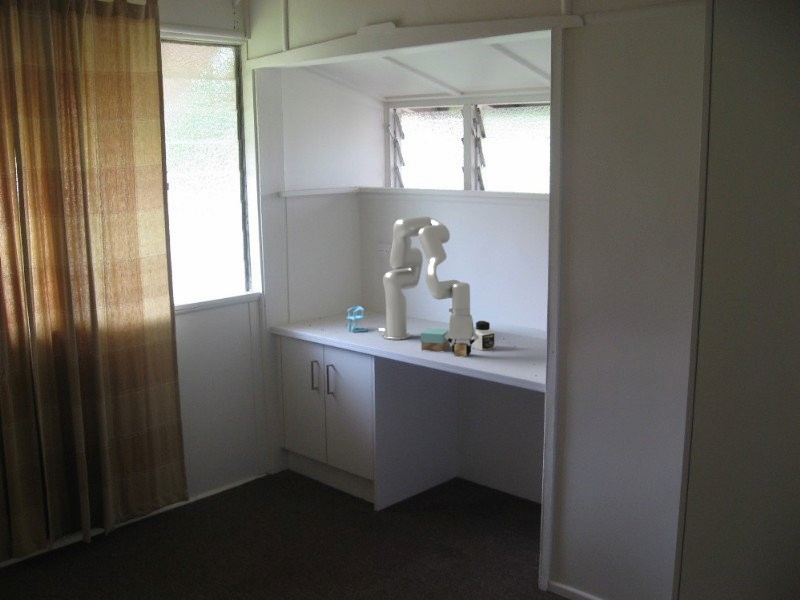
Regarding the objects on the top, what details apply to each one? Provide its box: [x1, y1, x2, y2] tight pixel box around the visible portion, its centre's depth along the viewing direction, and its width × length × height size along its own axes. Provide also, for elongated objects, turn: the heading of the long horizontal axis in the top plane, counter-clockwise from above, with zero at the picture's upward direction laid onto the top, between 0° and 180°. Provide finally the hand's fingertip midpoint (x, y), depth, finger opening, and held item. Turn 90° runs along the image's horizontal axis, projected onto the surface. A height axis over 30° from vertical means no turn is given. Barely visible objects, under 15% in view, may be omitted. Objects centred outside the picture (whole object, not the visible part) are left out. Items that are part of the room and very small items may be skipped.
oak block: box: [453, 341, 468, 358], centre depth 355 cm, size 5×5×5 cm
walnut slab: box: [420, 340, 451, 352], centre depth 368 cm, size 10×10×4 cm
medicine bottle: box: [471, 320, 495, 351], centre depth 365 cm, size 7×7×12 cm
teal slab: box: [420, 328, 449, 344], centre depth 367 cm, size 10×10×4 cm
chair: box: [346, 305, 368, 333], centre depth 407 cm, size 8×8×12 cm
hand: (461, 353), depth 355 cm, fingers open, 5 cm apart
